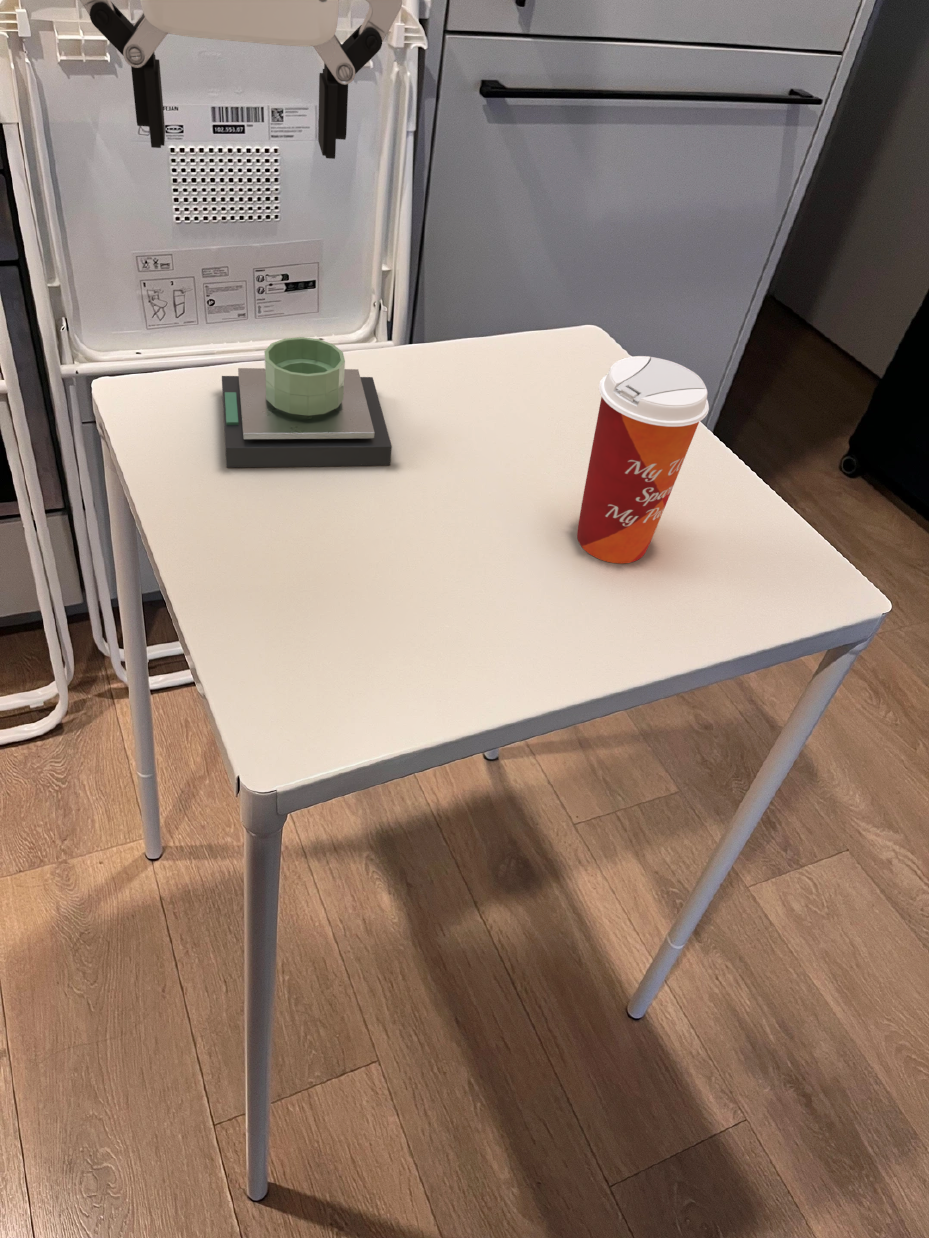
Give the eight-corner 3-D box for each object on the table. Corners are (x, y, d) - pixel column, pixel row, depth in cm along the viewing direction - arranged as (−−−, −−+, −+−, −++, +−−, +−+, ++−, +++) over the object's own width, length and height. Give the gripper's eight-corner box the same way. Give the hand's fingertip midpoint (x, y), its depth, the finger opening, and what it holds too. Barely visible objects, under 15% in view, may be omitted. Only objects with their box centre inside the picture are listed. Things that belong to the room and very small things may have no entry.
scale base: (226, 468, 80) (225, 444, 79) (222, 394, 89) (221, 372, 87) (390, 465, 83) (392, 443, 82) (371, 395, 92) (372, 374, 90)
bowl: (268, 420, 81) (267, 375, 78) (263, 379, 86) (262, 336, 83) (346, 419, 82) (348, 376, 79) (337, 380, 87) (339, 337, 84)
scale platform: (243, 439, 79) (243, 433, 79) (238, 373, 87) (238, 367, 86) (374, 438, 82) (374, 432, 81) (358, 374, 89) (358, 369, 89)
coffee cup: (615, 585, 75) (666, 420, 65) (542, 531, 79) (580, 367, 69) (681, 550, 80) (738, 390, 69) (609, 500, 84) (653, 342, 74)
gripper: (21, -276, 39) (82, 159, 51) (428, -212, 43) (399, 177, 55) (40, -279, 45) (91, 115, 56) (402, -222, 49) (381, 135, 60)
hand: (244, 146), depth 56 cm, fingers open, 9 cm apart
